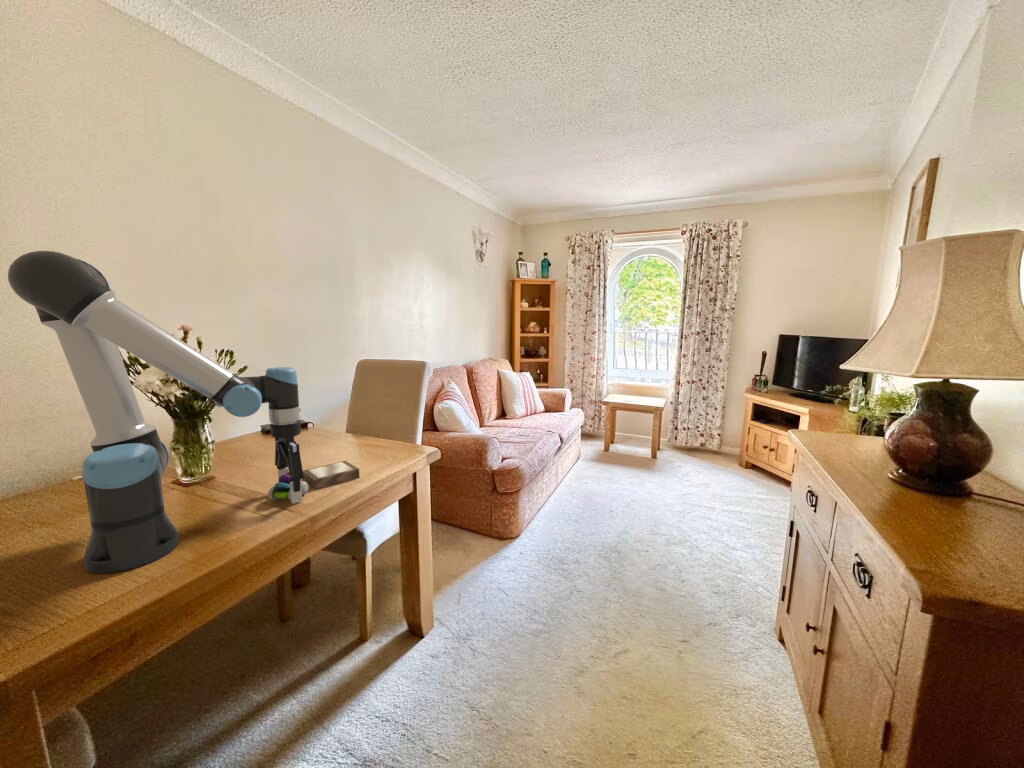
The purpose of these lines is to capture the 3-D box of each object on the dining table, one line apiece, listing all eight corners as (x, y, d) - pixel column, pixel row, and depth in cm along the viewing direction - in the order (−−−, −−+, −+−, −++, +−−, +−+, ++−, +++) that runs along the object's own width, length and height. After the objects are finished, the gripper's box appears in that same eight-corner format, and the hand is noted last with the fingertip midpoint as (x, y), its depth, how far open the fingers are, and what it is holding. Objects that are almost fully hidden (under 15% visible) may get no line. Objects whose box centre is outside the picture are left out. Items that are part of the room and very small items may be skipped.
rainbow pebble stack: (312, 490, 123) (311, 468, 122) (292, 505, 113) (290, 480, 112) (286, 489, 124) (284, 466, 123) (264, 503, 114) (262, 478, 113)
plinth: (315, 489, 124) (314, 479, 124) (302, 479, 132) (302, 470, 131) (359, 477, 134) (359, 468, 133) (345, 469, 142) (345, 460, 141)
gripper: (313, 427, 110) (318, 504, 113) (286, 413, 126) (291, 481, 129) (283, 432, 105) (289, 512, 108) (259, 416, 121) (265, 487, 124)
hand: (290, 495), depth 119 cm, fingers closed on rainbow pebble stack, 10 cm apart
